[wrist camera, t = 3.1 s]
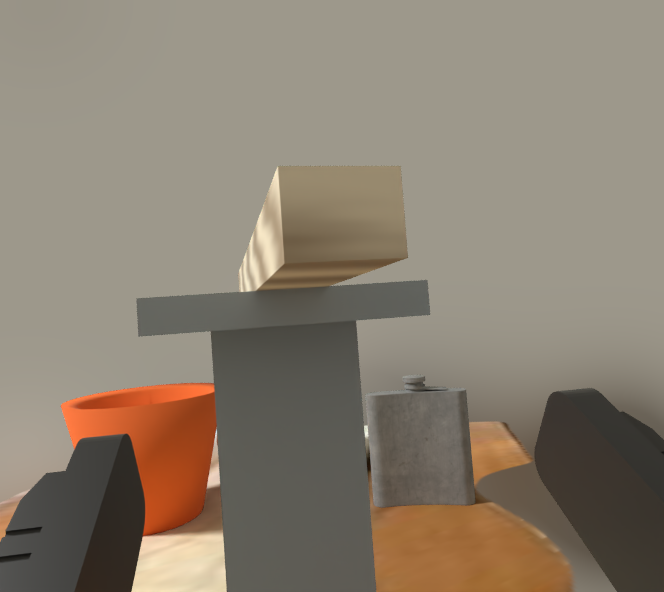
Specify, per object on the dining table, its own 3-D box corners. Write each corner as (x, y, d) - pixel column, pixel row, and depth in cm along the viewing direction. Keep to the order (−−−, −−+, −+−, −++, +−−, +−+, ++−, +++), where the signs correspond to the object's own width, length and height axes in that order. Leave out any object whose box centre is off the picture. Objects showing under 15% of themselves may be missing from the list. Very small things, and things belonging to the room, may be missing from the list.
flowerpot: (148, 563, 64) (139, 411, 65) (30, 537, 75) (25, 407, 76) (259, 495, 86) (252, 382, 87) (156, 483, 98) (150, 383, 99)
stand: (474, 862, 27) (427, 280, 28) (171, 936, 25) (136, 298, 26) (375, 609, 51) (352, 299, 52) (216, 634, 48) (196, 309, 50)
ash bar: (407, 257, 16) (400, 166, 16) (284, 263, 15) (277, 166, 15) (282, 302, 47) (280, 271, 47) (240, 305, 46) (238, 273, 46)
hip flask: (373, 507, 77) (363, 380, 78) (374, 498, 81) (365, 376, 82) (477, 505, 75) (466, 374, 76) (472, 495, 79) (462, 371, 80)
